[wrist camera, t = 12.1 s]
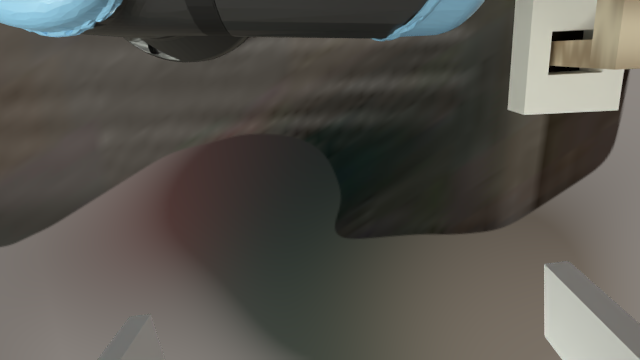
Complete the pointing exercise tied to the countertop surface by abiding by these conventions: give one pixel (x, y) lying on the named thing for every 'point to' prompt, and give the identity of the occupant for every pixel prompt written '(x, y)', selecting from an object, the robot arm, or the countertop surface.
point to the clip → (605, 39)
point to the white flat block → (534, 55)
